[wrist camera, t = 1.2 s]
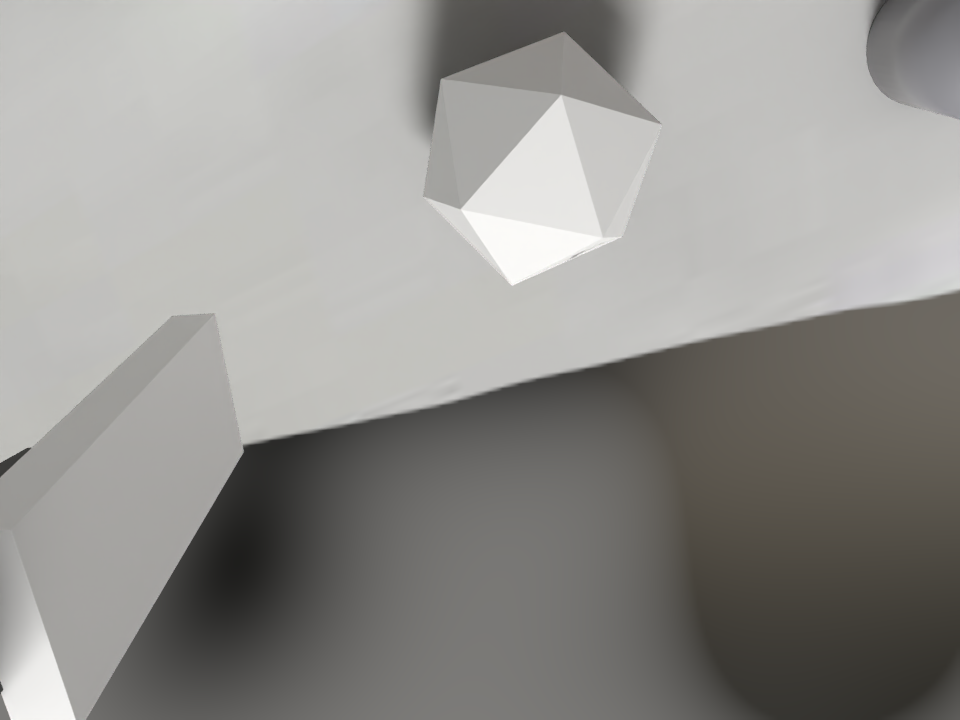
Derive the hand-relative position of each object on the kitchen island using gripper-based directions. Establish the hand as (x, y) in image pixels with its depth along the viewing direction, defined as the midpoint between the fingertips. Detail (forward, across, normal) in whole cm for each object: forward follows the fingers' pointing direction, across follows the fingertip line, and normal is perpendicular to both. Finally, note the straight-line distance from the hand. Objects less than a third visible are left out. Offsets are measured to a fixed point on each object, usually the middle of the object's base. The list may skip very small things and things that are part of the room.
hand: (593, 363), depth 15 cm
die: (+23, 0, 0) cm, 23 cm away
